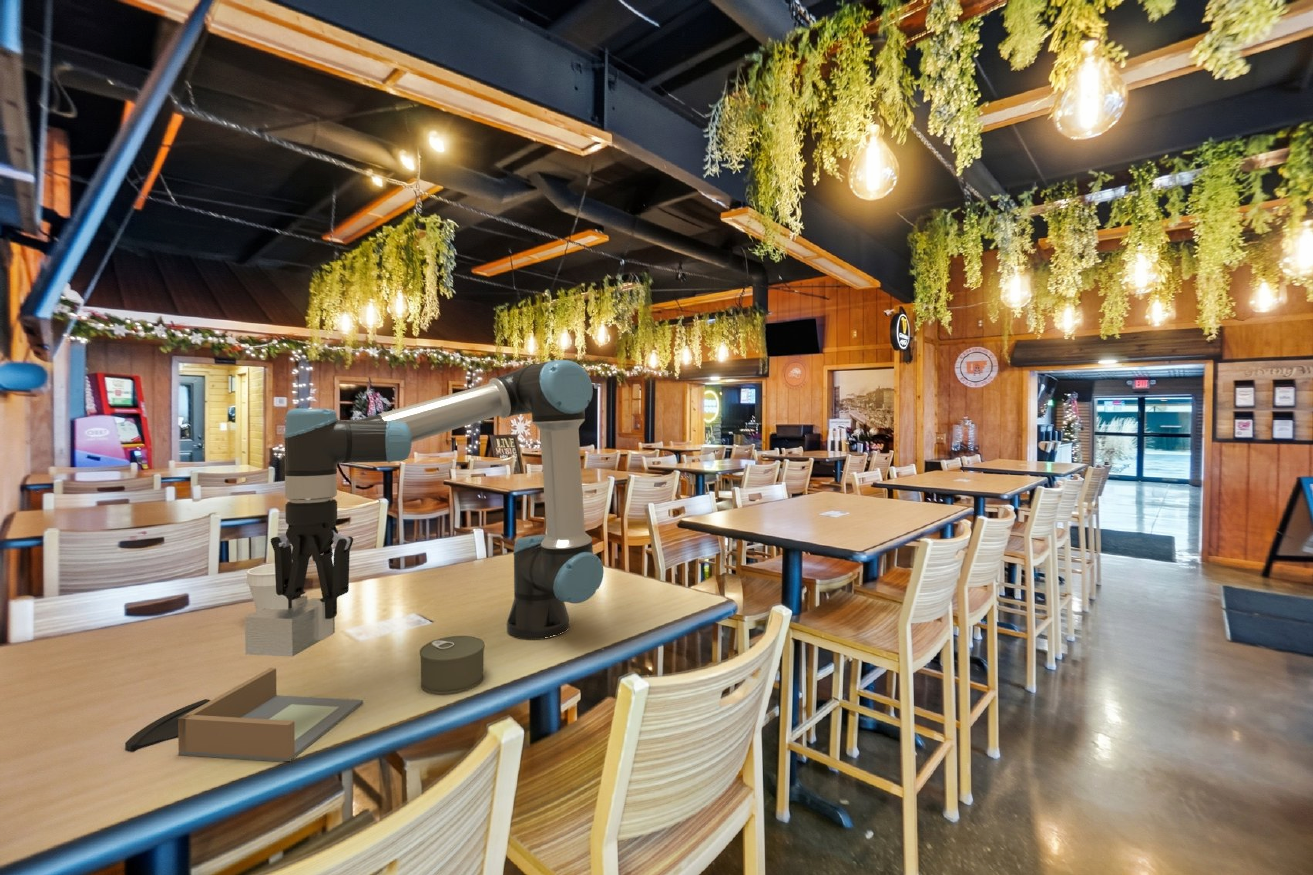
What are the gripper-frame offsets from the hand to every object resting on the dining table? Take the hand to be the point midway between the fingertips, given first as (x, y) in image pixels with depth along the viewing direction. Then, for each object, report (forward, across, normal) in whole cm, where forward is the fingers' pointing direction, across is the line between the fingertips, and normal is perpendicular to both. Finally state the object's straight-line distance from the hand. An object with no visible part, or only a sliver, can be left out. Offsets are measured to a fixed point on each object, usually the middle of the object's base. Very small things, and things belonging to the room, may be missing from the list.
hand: (312, 636), depth 97 cm
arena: (+14, +4, +3) cm, 15 cm away
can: (+15, -17, -16) cm, 28 cm away
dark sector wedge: (+15, +21, +4) cm, 26 cm away
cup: (+14, +43, -44) cm, 63 cm away
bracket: (0, +2, +2) cm, 3 cm away
